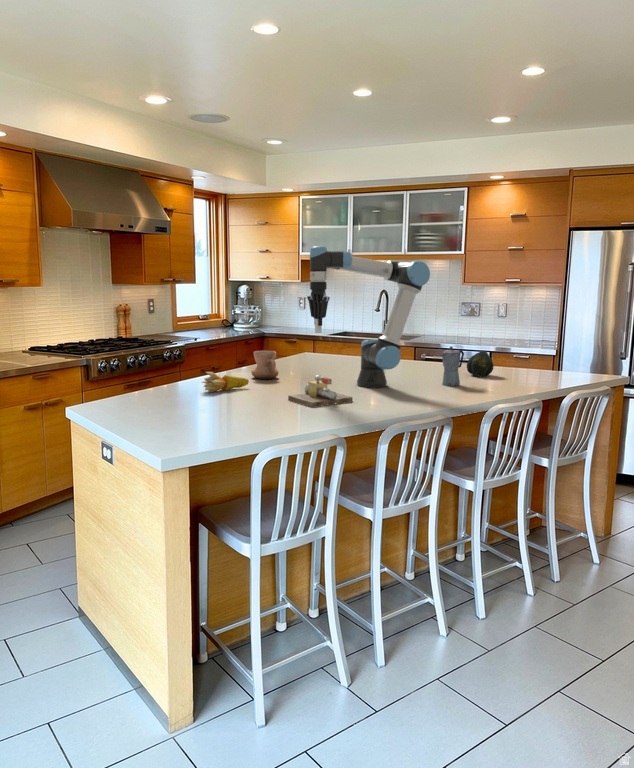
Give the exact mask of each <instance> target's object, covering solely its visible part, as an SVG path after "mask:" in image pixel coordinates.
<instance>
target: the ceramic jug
mask: <svg viewBox="0 0 634 768" xmlns="http://www.w3.org/2000/svg"><path fill="white" fill-rule="evenodd" d="M276 357H277V352H276V351H275V350H255V351H253V358H254V361H255V363H256V366H255V367H254V368H253V369H252V370H251V376H252V377H254V378H256V379H258V378H259V379H260V380H271V379H274V378H276V377H278V375H279V370H278V368H277V364H276Z"/></svg>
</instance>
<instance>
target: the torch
mask: <svg viewBox="0 0 634 768" xmlns="http://www.w3.org/2000/svg"><path fill="white" fill-rule="evenodd" d="M205 373H206V374H207V375H208V376H207V377H204V378H203V380H204V381H201V383H202V384H204V385H203V388H205V389H204V391H207V392H210V393H215V392H217V391H220V390H221V391H224V390H228V391H230V390H232V389H239V388H243V387H245V386H247V385H249V379H248V378H245V377H239V376H238V377H237V376H234V375H233V376H231V375H226V374H225V375H223V376H222V377H220V376H219V375H217V374H216V373H215V372H213V371H205Z"/></svg>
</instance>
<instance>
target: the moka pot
mask: <svg viewBox="0 0 634 768" xmlns="http://www.w3.org/2000/svg"><path fill="white" fill-rule="evenodd" d="M464 355H465V352H464V351H463V350H462V349H457V350H455V349H453V346H449V350H444V351H441V357H442V366H443V375H442V383H441V384H442V386H446V387H457V386H458V387H459V386H460V385H461V382H460V374H459V368H461V367H462V364H463V359H464V357H465V356H464Z"/></svg>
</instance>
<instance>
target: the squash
mask: <svg viewBox="0 0 634 768" xmlns="http://www.w3.org/2000/svg"><path fill="white" fill-rule="evenodd" d="M494 368H495V367H494V362H493V359H492V358H491V356H490V355H489V353H488V352H487V351H486V350H481V351H479V352H477V353H475V354H474V355H472V356H470V357H469V358H468V360H467V363H466V370H467V372H468V373H469V374H471V375H473V377H483V376H484V377H487V376H488V375H490V374H491V373H493V370H494Z"/></svg>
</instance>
